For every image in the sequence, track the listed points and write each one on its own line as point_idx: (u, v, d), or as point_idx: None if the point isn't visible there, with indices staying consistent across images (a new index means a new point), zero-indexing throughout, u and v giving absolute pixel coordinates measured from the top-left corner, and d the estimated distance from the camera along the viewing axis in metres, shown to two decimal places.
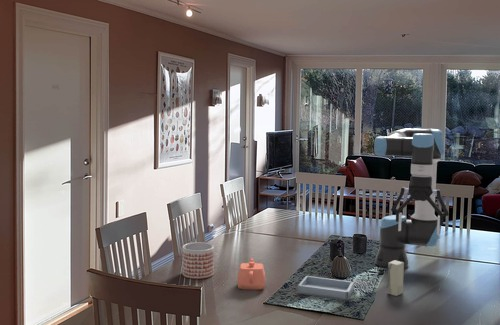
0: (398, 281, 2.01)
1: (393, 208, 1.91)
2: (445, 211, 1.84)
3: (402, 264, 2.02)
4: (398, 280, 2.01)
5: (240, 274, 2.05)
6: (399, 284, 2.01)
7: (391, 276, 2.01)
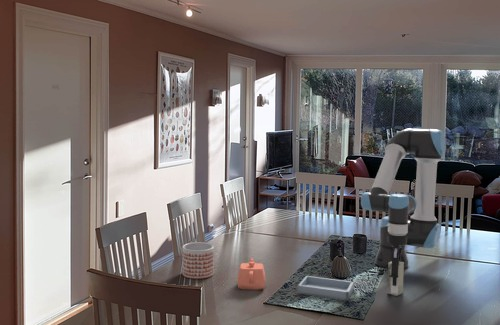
0: (398, 281, 2.01)
1: None
2: (391, 272, 1.98)
3: (402, 264, 2.02)
4: (398, 280, 2.01)
5: (240, 274, 2.05)
6: (399, 284, 2.01)
7: None
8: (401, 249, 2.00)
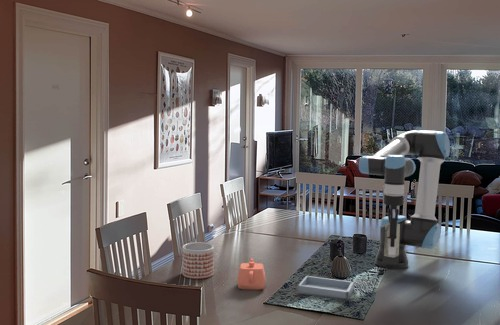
0: None
1: None
2: None
3: (398, 225, 2.01)
4: None
5: (240, 274, 2.05)
6: (396, 246, 2.00)
7: None
8: (398, 210, 1.98)
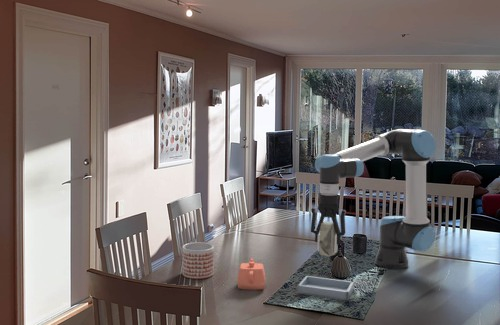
0: None
1: (312, 229, 2.03)
2: (342, 231, 1.99)
3: None
4: None
5: (240, 274, 2.05)
6: None
7: (332, 237, 2.01)
8: None
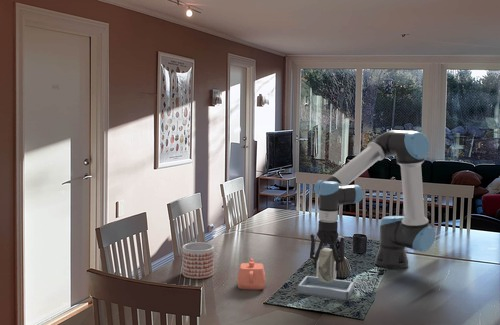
0: None
1: (311, 255, 2.04)
2: (341, 257, 2.00)
3: None
4: None
5: (240, 274, 2.05)
6: None
7: (331, 263, 2.02)
8: None
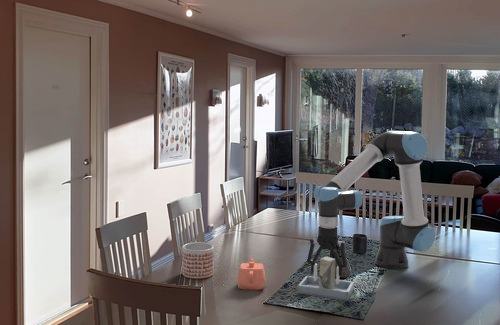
0: None
1: (308, 260, 2.05)
2: (343, 262, 2.00)
3: None
4: None
5: (240, 274, 2.05)
6: None
7: (332, 273, 2.02)
8: None
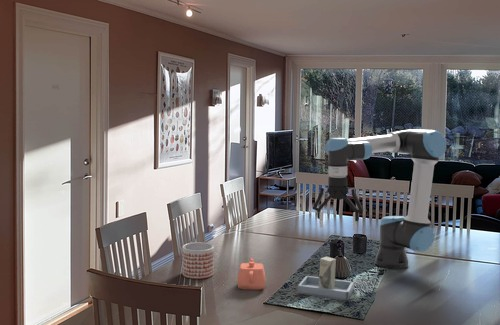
0: None
1: (314, 206, 2.09)
2: (359, 208, 2.03)
3: None
4: None
5: (240, 274, 2.05)
6: None
7: (332, 273, 2.02)
8: None
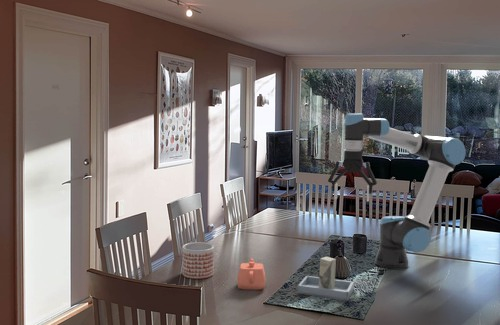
0: None
1: (330, 179, 2.18)
2: (373, 181, 2.11)
3: None
4: None
5: (240, 274, 2.05)
6: None
7: (332, 273, 2.02)
8: None
